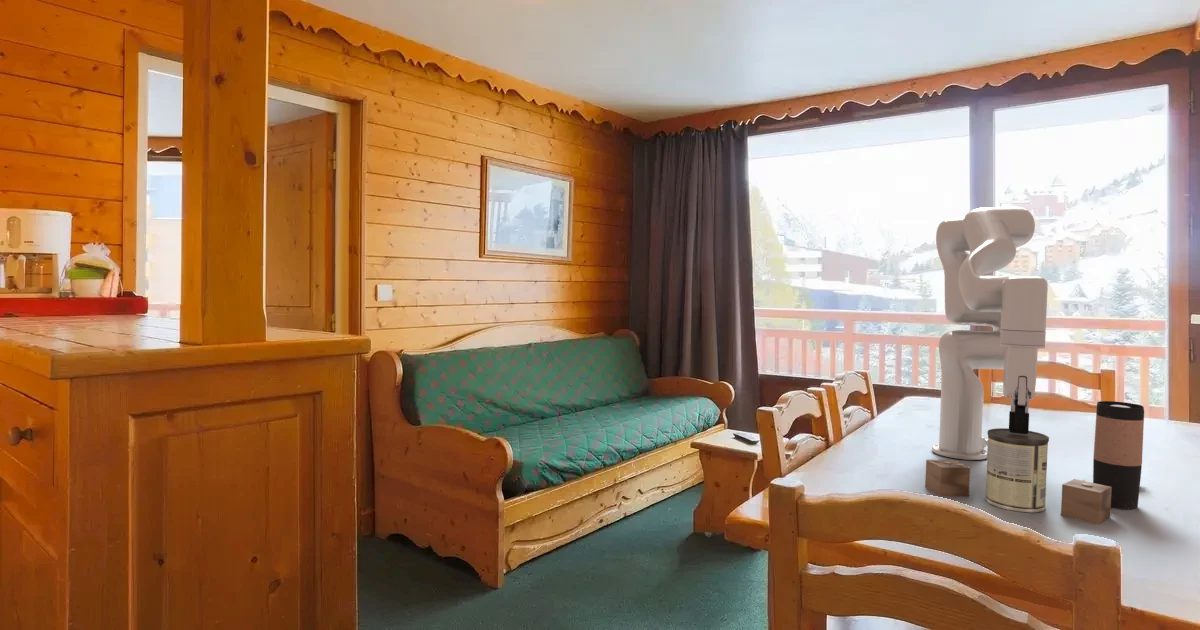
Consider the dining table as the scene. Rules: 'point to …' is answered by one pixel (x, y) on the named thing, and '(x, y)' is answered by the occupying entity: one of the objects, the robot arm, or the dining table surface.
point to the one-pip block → (1086, 501)
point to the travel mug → (1119, 451)
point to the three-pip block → (947, 477)
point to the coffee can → (1016, 470)
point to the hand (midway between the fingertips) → (1018, 432)
